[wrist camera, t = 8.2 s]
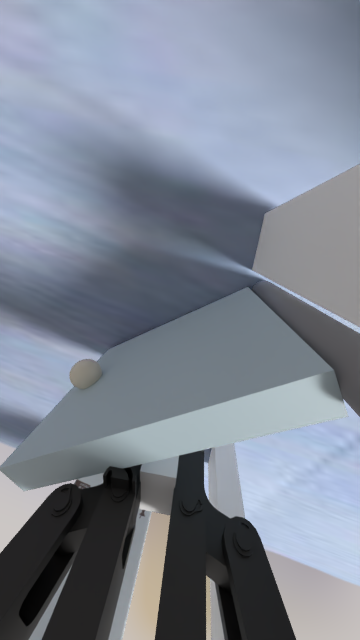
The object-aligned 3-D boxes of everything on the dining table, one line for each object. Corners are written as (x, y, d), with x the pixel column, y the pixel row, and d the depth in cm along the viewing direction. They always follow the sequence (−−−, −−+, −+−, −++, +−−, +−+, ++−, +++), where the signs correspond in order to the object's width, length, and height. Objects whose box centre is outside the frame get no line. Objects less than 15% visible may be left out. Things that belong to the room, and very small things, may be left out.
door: (262, 256, 13) (437, 293, 3) (277, 296, 14) (450, 420, 4) (98, 335, 17) (-47, 460, 7) (117, 363, 18) (11, 508, 8)
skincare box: (163, 460, 23) (100, 795, 9) (148, 487, 25) (79, 785, 11) (96, 435, 22) (-75, 738, 9) (87, 464, 25) (-59, 740, 11)
